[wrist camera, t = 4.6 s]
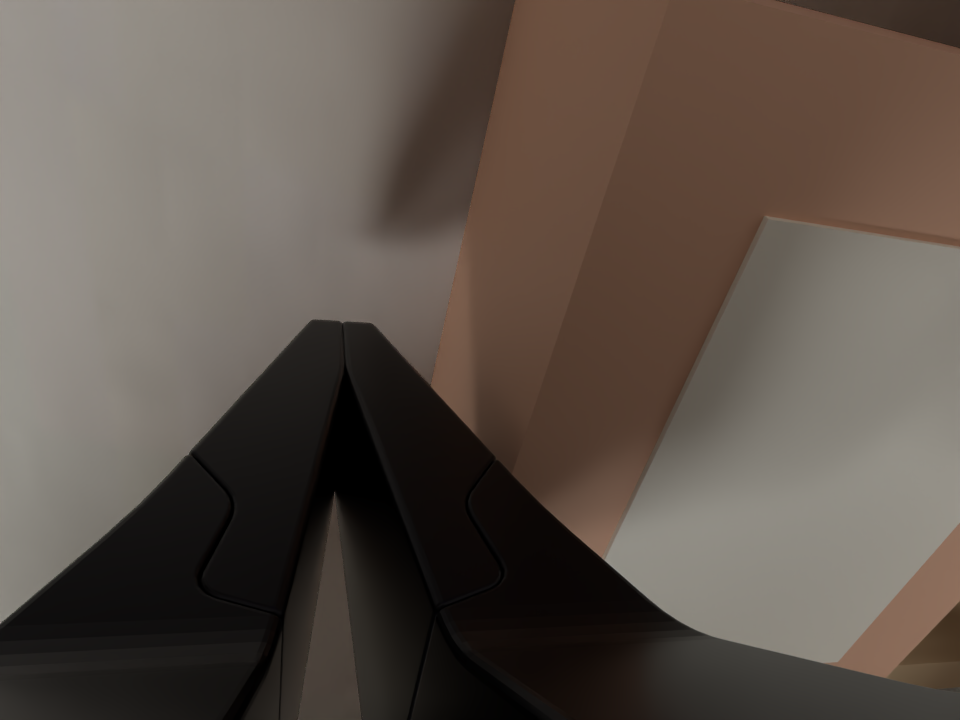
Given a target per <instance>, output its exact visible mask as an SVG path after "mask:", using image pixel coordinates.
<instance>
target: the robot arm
mask: <svg viewBox="0 0 960 720" xmlns="http://www.w3.org/2000/svg"><path fill="white" fill-rule="evenodd" d="M334 492H335V498H336V507H337V515H338V524H339V532H340V540H341V549H342V557H343V566H344V574H345V582H346V591H347V599H348V607H349V616H350V624H351V633H352V641H353V649H354V658H355V666H356V674H357V683H358V691H359V700H360V708H361V716H362V720H960V693H958V692H952V691H945V690H939V689H933V688H928V687H923V686H918V685H913V684H908V683H904V682H900V681H896V680H892V679H887V678H883V677H879V676H875V675H871V674H866V673H862V672H858V671H854V670H850V669H845V668H841V667H837V666H833V665H829V664H825V663H820V662H816V661H812V660H808V659H804V658H799V657H795V656H791V655H787V654H783V653H778V652H774V651H770V650H766V649H762V648H757V647H753V646H749V645H745V644H741V643H737V642H732V641H728V640H724V639H720V638H717V637H713V636H710V635H707V634H705V633H702V632H700V631H697V630H695V629H693V628H691V627H689V626H687V625H685V624H683V623H681V622H680V621H678V620H677V619H675V618H674V617H672V616H671V615H669V614H668V613H666V612H665V611H663V610H662V609H661V608H660V607H658V606H657V605H656V604H655V603H653V602H652V601H651V600H650V599H648V598H647V597H646V596H645V595H644V594H643V593H641V592H640V591H639V590H638V589H637V588H636V587H635V586H633V585H632V584H631V583H630V582H629V581H628V580H626V579H625V578H624V577H623V576H622V575H621V574H620V573H618V572H617V571H616V570H615V569H614V568H613V567H612V566H610V565H609V564H608V563H607V562H606V561H605V560H603V559H602V558H601V557H600V556H599V555H598V554H597V553H595V552H594V551H593V550H592V549H591V548H590V547H588V546H587V545H586V544H585V543H584V542H583V541H582V540H580V539H579V538H578V537H577V536H576V535H575V534H573V533H572V532H571V531H570V530H569V529H568V528H567V527H566V526H565V525H564V524H562V523H561V522H560V521H559V520H558V519H557V518H556V517H555V516H554V515H553V514H552V513H550V512H549V511H548V510H547V509H546V508H545V507H544V506H543V505H542V504H541V503H540V502H539V501H538V500H537V499H536V498H535V497H534V496H533V495H532V494H531V493H530V492H529V491H528V490H527V489H526V488H525V487H524V486H523V485H522V484H521V483H520V482H519V481H518V480H517V479H516V478H515V477H514V476H513V475H512V474H511V473H510V471H509V470H508V469H507V468H506V467H505V466H504V465H503V464H502V463H501V462H500V461H499V460H496V457H495V456H494V454H493V453H492V452H491V451H490V450H489V449H488V448H487V447H486V446H485V445H484V444H483V443H482V441H481V440H480V439H479V438H478V437H477V436H476V435H475V434H474V433H473V432H472V431H471V430H470V428H469V427H468V426H467V425H466V424H465V423H464V422H463V421H462V420H461V419H460V418H459V417H458V415H457V414H456V413H455V412H454V411H453V410H452V409H451V408H450V407H449V406H448V405H447V404H446V402H445V401H444V400H443V399H442V398H441V397H440V396H439V395H438V394H437V393H436V392H435V390H434V389H433V388H432V387H431V386H430V385H429V384H428V383H427V382H426V381H425V380H424V379H423V377H422V376H421V375H420V374H419V373H418V372H417V371H416V370H415V369H414V368H413V367H412V366H411V364H410V363H409V362H408V361H407V360H406V359H405V358H404V357H403V356H402V355H401V354H400V353H399V351H398V350H397V349H396V348H395V347H394V346H393V345H392V344H391V343H390V342H389V341H388V340H387V338H386V337H385V336H384V335H383V334H382V333H381V332H380V331H379V330H378V329H377V328H376V327H375V326H374V325H373V324H371V323H363V322H344V323H341V322H340V321H332V320H316V319H315V320H311V321H310V322H309V323H308V324H307V325H306V326H305V327H304V328H303V329H302V330H301V332H300V333H299V334H298V335H297V336H296V337H295V338H294V339H293V340H292V341H291V342H290V344H289V345H288V346H287V347H286V348H285V349H284V350H283V351H282V352H281V353H280V354H279V355H278V357H277V358H276V359H275V360H274V361H273V362H272V363H271V364H270V365H269V366H268V367H267V369H266V370H265V371H264V372H263V373H262V374H261V375H260V376H259V377H258V378H257V379H256V381H255V382H254V383H253V384H252V385H251V386H250V387H249V388H248V389H247V390H246V391H245V392H244V394H243V395H242V396H241V397H240V398H239V399H238V400H237V401H236V402H235V403H234V404H233V406H232V407H231V408H230V409H229V410H228V411H227V412H226V413H225V414H224V415H223V416H222V417H221V419H220V420H219V421H218V422H217V423H216V424H215V425H214V426H213V427H212V428H211V429H210V431H209V432H208V433H207V434H206V435H205V436H204V437H203V438H202V439H201V440H200V441H199V443H198V444H197V445H196V446H195V447H194V448H193V449H192V450H191V451H190V453H189V455H187V456H185V457H184V458H183V459H182V460H181V462H180V463H179V464H178V465H177V466H176V467H175V468H174V469H173V470H172V472H171V473H170V474H169V475H168V476H167V477H166V478H165V479H164V480H163V481H162V482H161V483H160V484H159V485H158V486H157V487H156V488H155V489H154V490H153V491H152V492H151V493H150V494H149V495H148V496H147V497H146V498H145V499H144V500H143V501H142V502H141V503H140V504H139V505H138V506H137V507H136V508H135V509H134V510H132V511H131V512H130V513H129V514H128V515H127V516H126V517H125V518H123V519H122V520H121V521H120V522H119V523H118V524H117V525H116V526H114V527H113V528H112V529H111V530H110V531H109V532H108V533H107V534H106V535H104V536H103V537H102V538H101V539H100V540H99V541H98V542H96V543H95V544H94V545H93V546H92V547H90V548H89V549H88V550H87V551H86V552H85V553H83V554H82V555H81V556H80V557H79V558H77V559H76V560H75V561H74V562H73V563H72V564H70V565H69V566H68V567H67V568H66V569H64V570H63V571H62V572H61V573H60V574H59V575H57V576H56V577H55V578H54V579H53V580H51V581H50V582H49V583H48V584H47V585H45V586H44V587H43V588H42V589H41V590H40V591H38V592H37V593H36V594H35V595H34V596H32V597H31V598H30V599H29V600H28V601H27V602H25V603H24V604H23V605H22V606H21V607H19V608H18V609H17V610H16V611H15V612H14V613H12V614H11V615H10V616H9V617H8V618H6V619H5V620H4V621H3V622H2V623H1V624H0V720H298V714H299V708H300V701H301V695H302V689H303V683H304V677H305V671H306V665H307V659H308V652H309V646H310V640H311V634H312V628H313V622H314V616H315V610H316V603H317V597H318V591H319V585H320V579H321V573H322V567H323V561H324V554H325V548H326V542H327V536H328V530H329V524H330V518H331V512H332V505H333V499H334Z"/></svg>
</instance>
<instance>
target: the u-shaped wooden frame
mask: <svg viewBox="0 0 960 720" xmlns="http://www.w3.org/2000/svg"><path fill="white" fill-rule="evenodd" d="M886 678H887V679H892V680H896V681H900V682H904V683H908V684H913V685H918V686H923V687H928V688H933V689H943V688H956V687H960V601H959V602H958V603H957V604H956V606H955V607H954V608H953V609H952V610H951V611H950V612H949V613H948V614H947V615H946V616H945V617H944V618H943V619H942V620H941V621H940V622H939V623H938V624H937V625H936V626H935V627H934V628H933V629H932V630H931V631H930V633H929V634H928V635H927V636H926V637H925V638H924V639H923V640H922V641H921V642H920V643H919V644H918V645H917V646H916V647H915V648H914V649H913V650H912V651H911V652H910V653H909V654H908V655H907V656H906V657H905V658H904V659H903V661H902V662H901V663H900V664H899V665H898V666H897V667H896V668H895V669H894V670H893V671H892V672H891V673H890V674H889V675H888V676H887V677H886Z"/></svg>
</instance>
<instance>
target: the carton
mask: <svg viewBox="0 0 960 720" xmlns="http://www.w3.org/2000/svg"><path fill="white" fill-rule="evenodd" d="M431 387H432V388H433V389H434V390H435V392H436V393H437V394H438V395H439V396H440V397H441V398H442V399H443V400H444V401H445V402H446V404H447V405H448V406H449V407H450V408H451V409H452V410H453V411H454V412H455V413H456V414H457V415H458V417H459V418H460V419H461V420H462V421H463V422H464V423H465V424H466V425H467V426H468V427H469V428H470V430H471V431H472V432H473V433H474V434H475V435H476V436H477V437H478V438H479V439H480V440H481V441H482V443H483V444H484V445H485V446H486V447H487V448H488V449H489V450H490V451H491V452H492V453H493V454H494V456H495V457H496V460H499V461H500V462H501V463H502V464H503V465H504V466H505V467H506V468H507V469H508V470H509V471H510V473H511V474H512V475H513V476H514V477H515V478H516V479H517V480H518V481H519V482H520V483H521V484H522V485H523V486H524V487H525V488H526V489H527V490H528V491H529V492H530V493H531V494H532V495H533V496H534V497H535V498H536V499H537V500H538V501H539V502H540V503H541V504H542V505H543V506H544V507H545V508H546V509H547V510H548V511H549V512H550V513H552V514H553V515H554V516H555V517H556V518H557V519H558V520H559V521H560V522H561V523H562V524H564V525H565V526H566V527H567V528H568V529H569V530H570V531H571V532H572V533H573V534H575V535H576V536H577V537H578V538H579V539H580V540H582V541H583V542H584V543H585V544H586V545H587V546H588V547H590V548H591V549H592V550H593V551H594V552H595V553H597V554H598V555H599V556H600V557H601V558H602V559H603V560H605V561H606V562H607V563H608V564H609V565H610V566H612V567H613V568H614V569H615V570H616V571H617V572H618V573H620V574H621V575H622V576H623V577H624V578H625V579H626V580H628V581H629V582H630V583H631V584H632V585H633V586H635V587H636V588H637V589H638V590H639V591H640V592H641V593H643V594H644V595H645V596H646V597H647V598H648V599H650V600H651V601H652V602H653V603H655V604H656V605H657V606H658V607H660V608H661V609H662V610H663V611H665V612H666V613H668V614H669V615H671V616H672V617H674V618H675V619H677V620H678V621H680V622H681V623H683V624H685V625H687V626H689V627H691V628H693V629H695V630H697V631H700V632H702V633H705V634H707V635H710V636H713V637H717V638H720V639H724V640H728V641H732V642H737V643H741V644H745V645H749V646H753V647H757V648H762V649H766V650H770V651H774V652H778V653H783V654H787V655H791V656H795V657H799V658H804V659H808V660H812V661H816V662H820V663H825V664H829V665H833V666H837V667H841V668H845V669H850V670H854V671H858V672H862V673H866V674H871V675H875V676H879V677H883V678H886V677H887V676H888V675H889V674H890V673H891V672H892V671H893V670H894V669H895V668H896V667H897V666H898V665H899V664H900V663H901V662H902V661H903V659H904V658H905V657H906V656H907V655H908V654H909V653H910V652H911V651H912V650H913V649H914V648H915V647H916V646H917V645H918V644H919V643H920V642H921V641H922V640H923V639H924V638H925V637H926V636H927V635H928V634H929V633H930V631H931V630H932V629H933V628H934V627H935V626H936V625H937V624H938V623H939V622H940V621H941V620H942V619H943V618H944V617H945V616H946V615H947V614H948V613H949V612H950V611H951V610H952V609H953V608H954V607H955V606H956V604H957V603H958V602H959V601H960V48H957V47H954V46H950V45H946V44H942V43H938V42H934V41H930V40H927V39H923V38H919V37H915V36H911V35H907V34H903V33H900V32H896V31H892V30H888V29H884V28H880V27H876V26H873V25H869V24H865V23H861V22H857V21H853V20H849V19H846V18H842V17H838V16H834V15H830V14H826V13H822V12H819V11H815V10H811V9H807V8H803V7H799V6H795V5H792V4H788V3H784V2H780V1H776V0H515V4H514V9H513V13H512V18H511V22H510V27H509V31H508V36H507V40H506V45H505V50H504V54H503V59H502V63H501V68H500V72H499V77H498V81H497V86H496V90H495V95H494V100H493V104H492V109H491V113H490V118H489V122H488V127H487V131H486V136H485V140H484V145H483V150H482V154H481V159H480V163H479V168H478V172H477V177H476V181H475V186H474V190H473V195H472V200H471V204H470V209H469V213H468V218H467V222H466V227H465V231H464V236H463V240H462V245H461V250H460V254H459V259H458V263H457V268H456V272H455V277H454V281H453V286H452V290H451V295H450V300H449V304H448V309H447V313H446V318H445V322H444V327H443V331H442V336H441V340H440V345H439V350H438V354H437V359H436V363H435V368H434V372H433V377H432V381H431Z"/></svg>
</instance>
